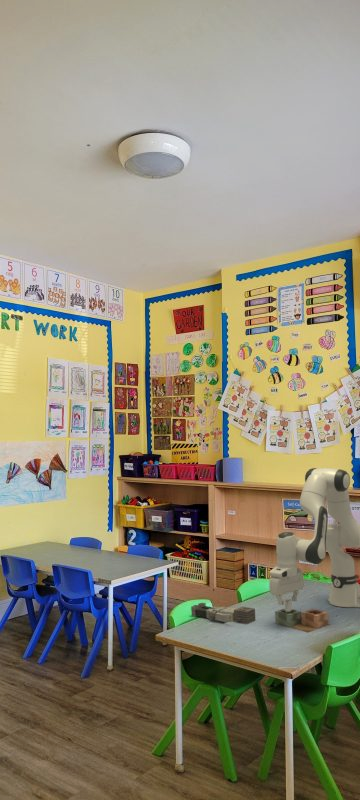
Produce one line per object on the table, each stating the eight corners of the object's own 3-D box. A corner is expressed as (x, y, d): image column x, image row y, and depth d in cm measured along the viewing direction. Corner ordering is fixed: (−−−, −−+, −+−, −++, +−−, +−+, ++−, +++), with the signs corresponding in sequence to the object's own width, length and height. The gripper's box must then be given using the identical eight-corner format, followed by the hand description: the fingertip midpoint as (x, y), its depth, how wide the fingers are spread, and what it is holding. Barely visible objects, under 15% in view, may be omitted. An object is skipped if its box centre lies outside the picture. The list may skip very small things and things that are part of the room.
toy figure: (203, 599, 275) (257, 607, 256) (204, 614, 274) (258, 622, 255) (189, 604, 266) (243, 613, 247) (190, 619, 265) (244, 629, 246)
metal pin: (287, 621, 251) (287, 598, 252) (293, 623, 249) (292, 599, 250) (283, 623, 249) (282, 599, 250) (289, 624, 247) (288, 600, 248)
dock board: (296, 619, 260) (295, 604, 260) (330, 627, 246) (329, 612, 247) (273, 626, 249) (273, 611, 250) (308, 636, 236) (307, 619, 236)
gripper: (295, 566, 260) (296, 597, 258) (266, 572, 246) (267, 605, 245) (307, 568, 255) (307, 599, 254) (278, 574, 242) (279, 608, 240)
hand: (287, 602), depth 249 cm, fingers open, 8 cm apart
